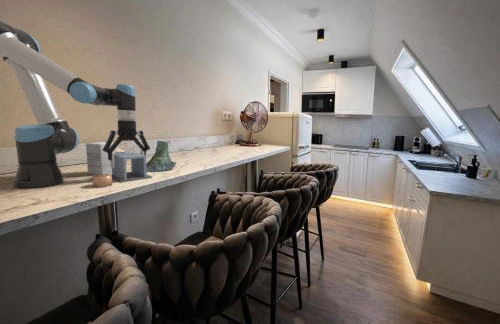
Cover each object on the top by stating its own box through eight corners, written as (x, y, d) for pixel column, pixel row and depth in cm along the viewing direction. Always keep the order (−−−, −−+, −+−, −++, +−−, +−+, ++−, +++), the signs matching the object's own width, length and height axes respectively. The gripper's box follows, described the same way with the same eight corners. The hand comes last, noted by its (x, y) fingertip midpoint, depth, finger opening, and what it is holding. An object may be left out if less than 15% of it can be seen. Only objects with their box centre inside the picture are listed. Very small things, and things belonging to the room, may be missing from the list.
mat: (107, 176, 116) (106, 174, 116) (136, 172, 127) (136, 171, 127) (120, 182, 106) (120, 180, 106) (151, 177, 116) (151, 176, 116)
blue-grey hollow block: (112, 174, 117) (111, 153, 115) (133, 171, 124) (132, 152, 123) (124, 179, 108) (123, 157, 106) (146, 176, 115) (146, 155, 114)
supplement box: (102, 170, 128) (101, 141, 126) (116, 171, 126) (115, 142, 124) (87, 173, 120) (84, 143, 117) (102, 175, 117) (100, 144, 115)
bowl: (91, 184, 100) (90, 175, 100) (108, 182, 105) (108, 173, 105) (96, 188, 96) (95, 178, 95) (114, 185, 101) (114, 175, 100)
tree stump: (131, 170, 132) (135, 137, 133) (157, 173, 151) (160, 144, 152) (158, 172, 126) (162, 138, 127) (182, 174, 144) (185, 144, 146)
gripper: (99, 119, 100) (101, 170, 104) (156, 121, 119) (157, 164, 122) (92, 118, 105) (95, 167, 108) (149, 120, 124) (149, 162, 127)
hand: (128, 165), depth 115 cm, fingers open, 13 cm apart
